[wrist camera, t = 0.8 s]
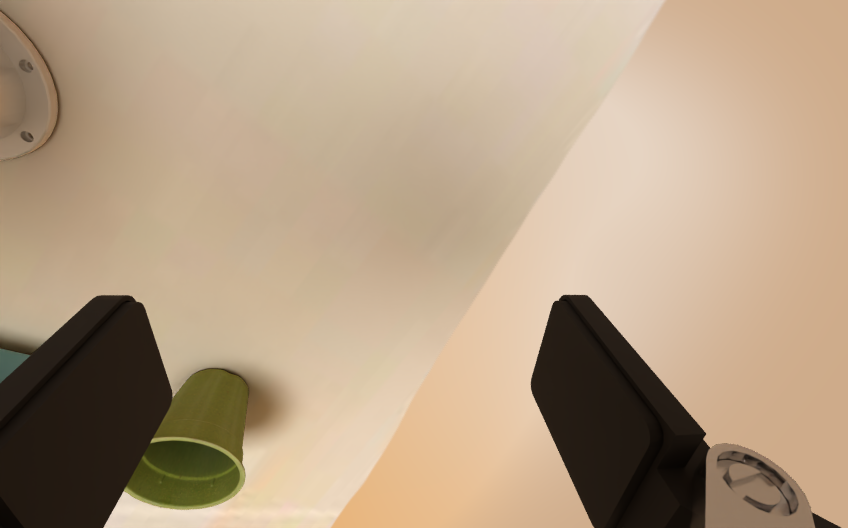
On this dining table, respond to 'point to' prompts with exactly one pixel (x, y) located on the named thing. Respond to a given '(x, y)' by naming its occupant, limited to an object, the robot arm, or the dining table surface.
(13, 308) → the dining table surface
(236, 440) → the plant pot
